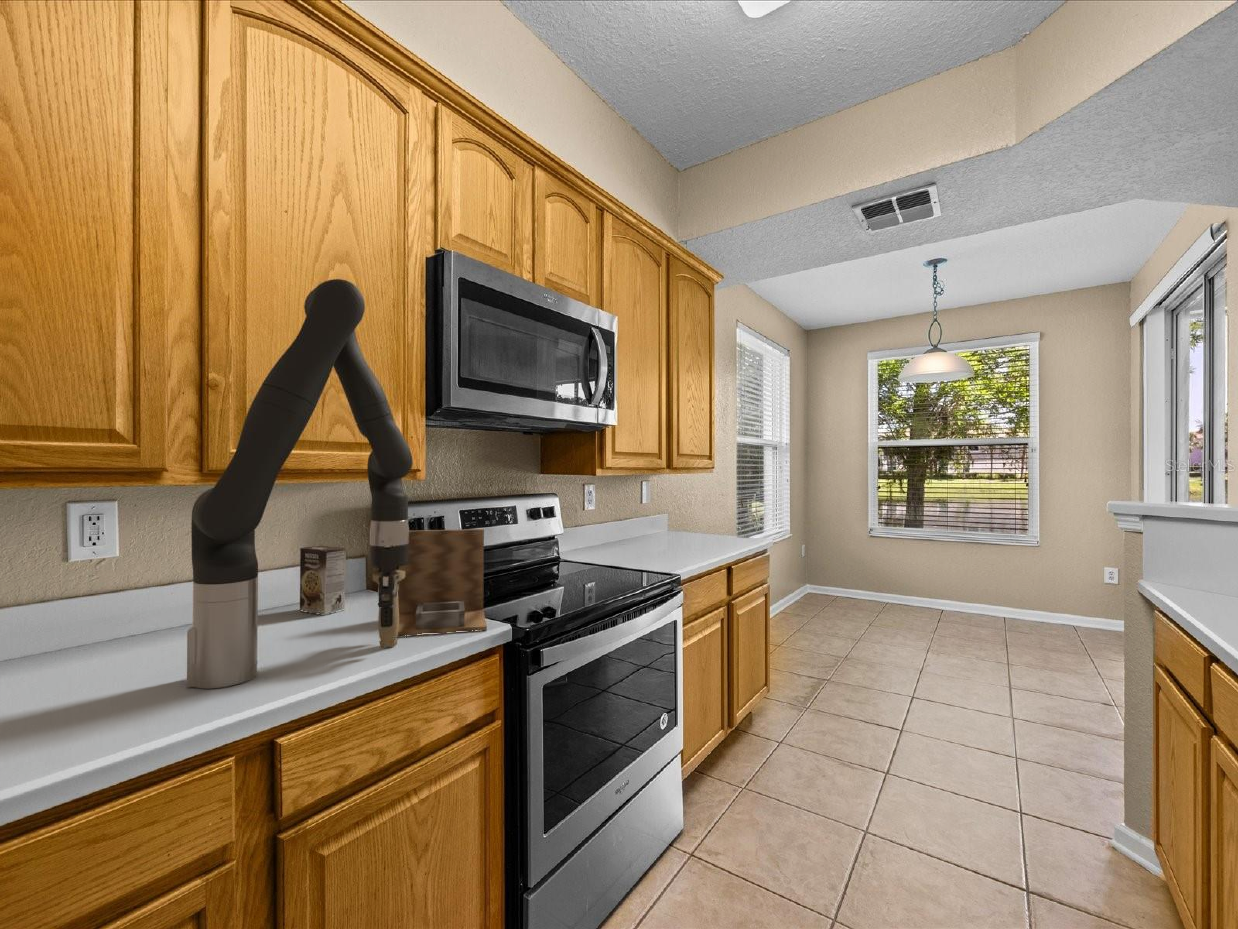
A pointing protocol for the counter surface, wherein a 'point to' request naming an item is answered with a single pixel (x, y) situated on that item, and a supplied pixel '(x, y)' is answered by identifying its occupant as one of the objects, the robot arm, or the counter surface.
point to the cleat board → (442, 582)
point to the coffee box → (322, 579)
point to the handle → (391, 633)
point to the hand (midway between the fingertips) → (388, 620)
